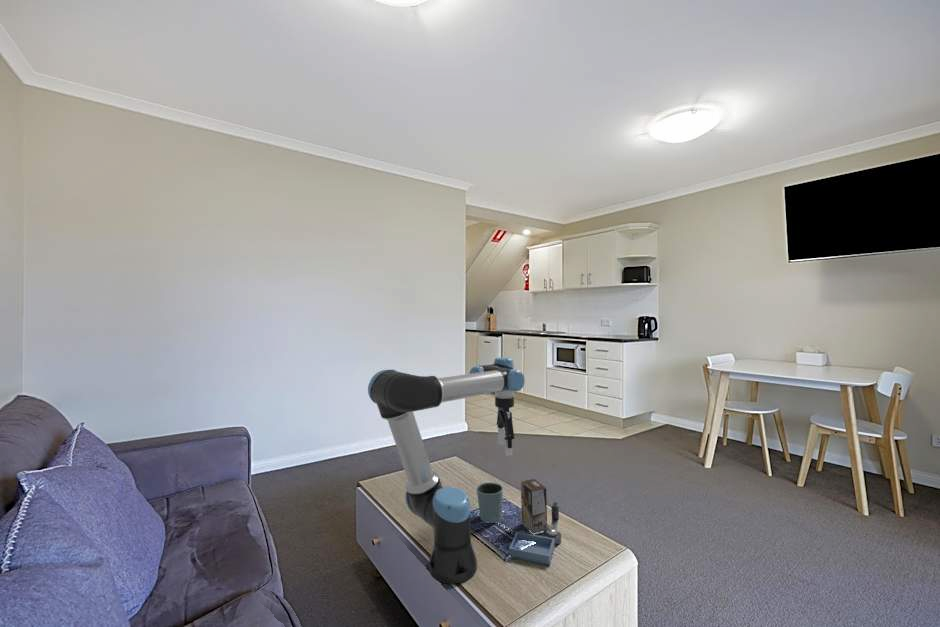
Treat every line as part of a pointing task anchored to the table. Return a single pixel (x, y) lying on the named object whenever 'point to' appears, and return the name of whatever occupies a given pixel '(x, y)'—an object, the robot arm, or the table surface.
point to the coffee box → (534, 505)
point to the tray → (533, 549)
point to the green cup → (490, 502)
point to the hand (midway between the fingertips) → (505, 449)
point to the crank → (553, 521)
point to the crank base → (557, 538)
